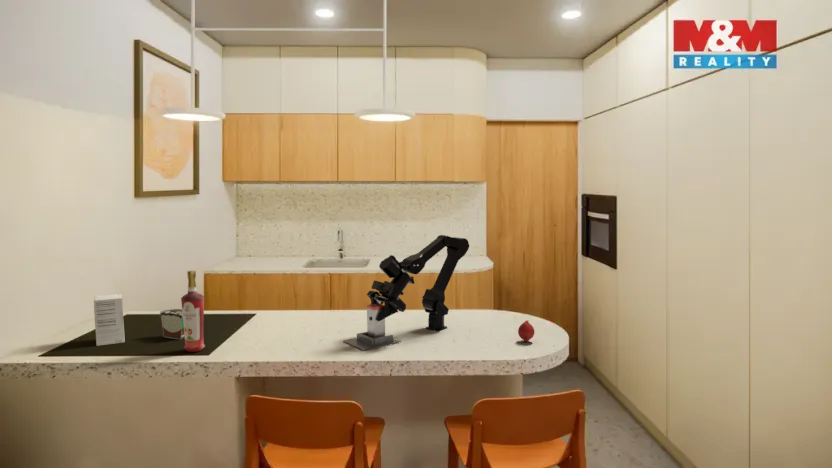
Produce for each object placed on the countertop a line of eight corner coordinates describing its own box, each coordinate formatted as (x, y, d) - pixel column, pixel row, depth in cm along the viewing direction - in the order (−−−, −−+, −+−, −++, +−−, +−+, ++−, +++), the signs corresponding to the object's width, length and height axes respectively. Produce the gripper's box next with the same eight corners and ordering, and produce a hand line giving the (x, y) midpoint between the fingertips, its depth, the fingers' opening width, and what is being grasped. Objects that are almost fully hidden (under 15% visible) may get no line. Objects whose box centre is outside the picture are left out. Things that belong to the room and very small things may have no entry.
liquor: (179, 353, 188) (175, 272, 185) (189, 347, 195) (186, 269, 192) (200, 353, 187) (197, 272, 185) (209, 347, 195) (206, 269, 192)
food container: (196, 336, 210) (195, 310, 209) (184, 340, 204) (182, 313, 203) (173, 332, 215) (172, 307, 214) (160, 336, 209) (159, 310, 208)
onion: (524, 344, 196) (525, 322, 195) (514, 340, 201) (515, 319, 200) (537, 342, 199) (537, 320, 198) (527, 338, 204) (527, 317, 203)
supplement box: (96, 339, 205) (93, 295, 204) (123, 336, 210) (121, 293, 208) (96, 346, 197) (93, 300, 195) (125, 342, 201) (122, 297, 200)
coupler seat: (379, 334, 210) (379, 327, 210) (400, 342, 199) (400, 335, 199) (343, 341, 201) (342, 334, 200) (363, 350, 190) (363, 343, 189)
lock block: (377, 337, 204) (377, 303, 203) (385, 340, 201) (384, 305, 199) (366, 339, 202) (366, 305, 200) (374, 342, 198) (373, 307, 196)
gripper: (370, 269, 209) (346, 301, 203) (399, 275, 194) (373, 310, 188) (387, 287, 214) (364, 319, 209) (416, 294, 200) (392, 329, 194)
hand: (372, 319), depth 200 cm, fingers open, 6 cm apart
